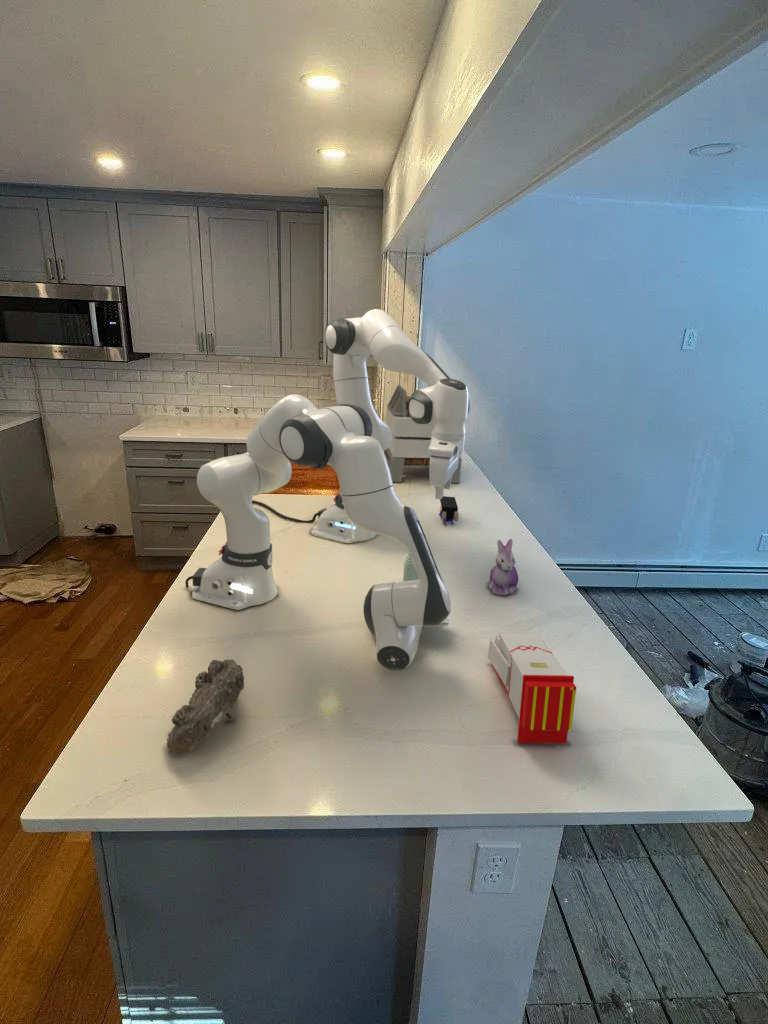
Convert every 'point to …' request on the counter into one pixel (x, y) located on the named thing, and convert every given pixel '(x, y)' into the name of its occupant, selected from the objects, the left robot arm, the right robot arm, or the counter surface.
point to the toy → (534, 687)
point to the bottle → (409, 569)
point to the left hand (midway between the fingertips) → (411, 594)
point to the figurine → (504, 571)
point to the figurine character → (448, 509)
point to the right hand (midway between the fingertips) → (442, 493)
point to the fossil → (206, 705)
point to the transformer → (408, 439)
